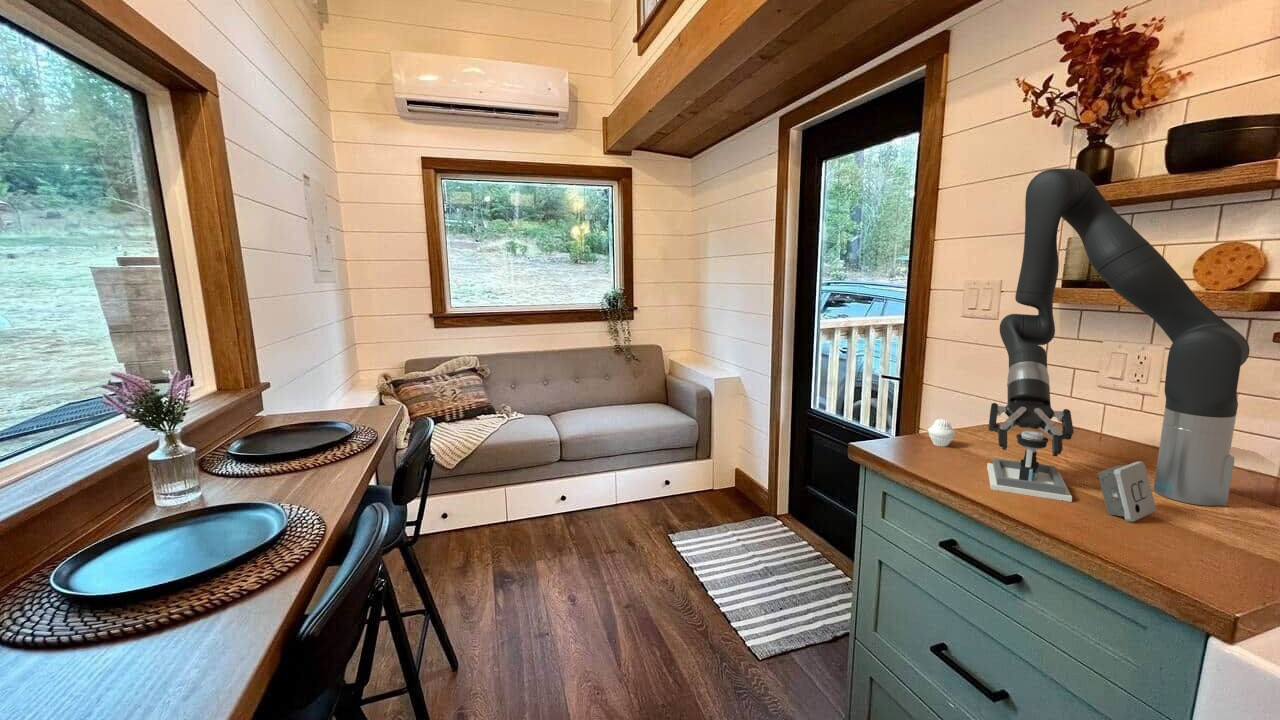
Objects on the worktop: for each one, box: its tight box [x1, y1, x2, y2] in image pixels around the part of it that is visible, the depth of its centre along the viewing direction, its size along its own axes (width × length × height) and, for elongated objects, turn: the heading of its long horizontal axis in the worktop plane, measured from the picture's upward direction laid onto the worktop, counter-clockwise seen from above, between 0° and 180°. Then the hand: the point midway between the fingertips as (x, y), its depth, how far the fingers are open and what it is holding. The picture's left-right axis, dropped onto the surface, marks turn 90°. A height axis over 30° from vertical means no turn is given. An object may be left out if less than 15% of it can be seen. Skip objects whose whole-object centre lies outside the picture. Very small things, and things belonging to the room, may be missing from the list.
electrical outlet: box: [1097, 461, 1157, 523], centre depth 95 cm, size 9×5×9 cm, turn 116°
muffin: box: [927, 418, 956, 448], centre depth 133 cm, size 6×6×7 cm
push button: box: [1016, 430, 1049, 481], centre depth 109 cm, size 7×5×10 cm
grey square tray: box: [986, 457, 1073, 503], centre depth 109 cm, size 13×14×2 cm
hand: (1029, 451), depth 107 cm, fingers open, 8 cm apart
